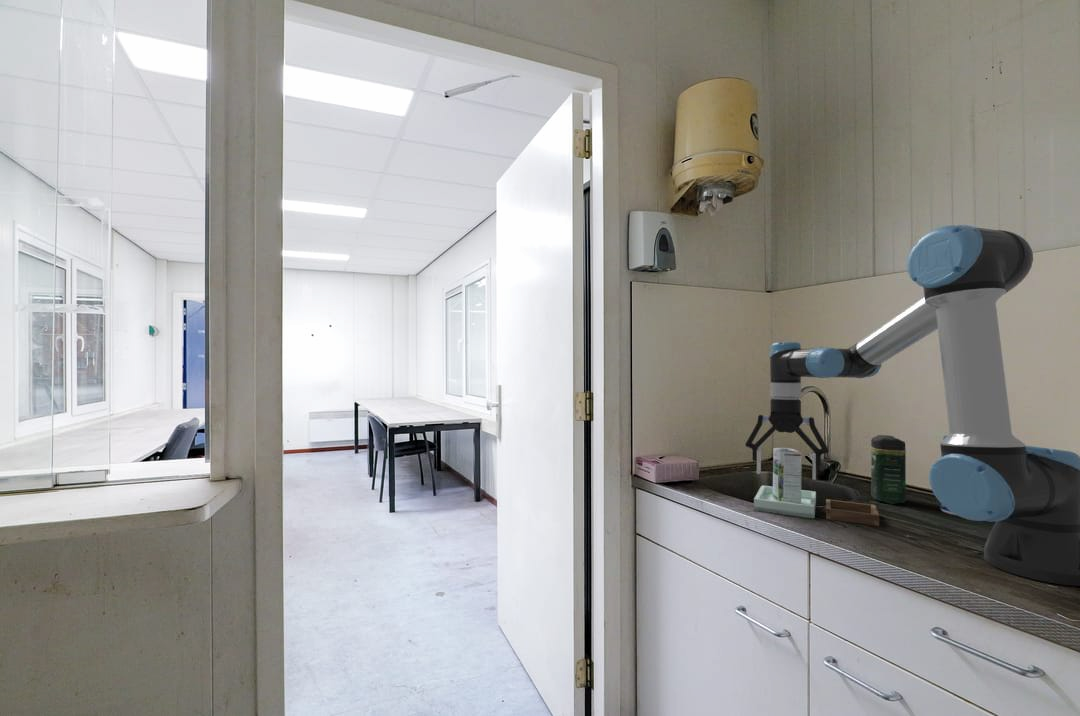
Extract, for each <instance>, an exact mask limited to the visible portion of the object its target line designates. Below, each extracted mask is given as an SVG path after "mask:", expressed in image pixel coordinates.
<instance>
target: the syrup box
mask: <svg viewBox="0 0 1080 716" xmlns="http://www.w3.org/2000/svg"><path fill="white" fill-rule="evenodd" d="M772 455H773V456H772V457H773V459H772V461H773V463H772V464H773V465H772V468H773V470H772V487H773V500H775V501H781V502H789V503H797V504H801V490H802V466H803V465H802V459H803V458H802V455H803V454H802V451H799V450H796V449H794V448H788V447H774V448H773V454H772Z"/></svg>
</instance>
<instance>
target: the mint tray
mask: <svg viewBox="0 0 1080 716" xmlns="http://www.w3.org/2000/svg"><path fill="white" fill-rule="evenodd" d="M816 504H817V492H816V491H813V490H806V489H805V490H804V489H801V504H797V503H789V502H781V501H775V500H773V486H771V485H770V486H769V485H764V484H763V485H761V486H760V488H759V489H758V491H757V493H756V495H755V496H754V498H753V511H757V512H763V513H770V512H772V514H777V513H778V515H785V516H791V517H792V516H793V517H798V518H799V517H801V518H807V519H813V520H815V517H816V516H815V515H816V506H817V505H816Z"/></svg>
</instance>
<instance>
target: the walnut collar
mask: <svg viewBox="0 0 1080 716" xmlns="http://www.w3.org/2000/svg"><path fill="white" fill-rule="evenodd" d="M825 519H826V520H833V521H839V522H847V523H855V524H862V525H868V526H876V527H880V515H879V511H878V509H877V506H876V504H871V503H862V502H861V503H860V502H854V501H844V500H838V499H829V498H828V499H827V498H826V499H825Z"/></svg>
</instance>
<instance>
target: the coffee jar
mask: <svg viewBox="0 0 1080 716" xmlns="http://www.w3.org/2000/svg"><path fill="white" fill-rule="evenodd" d="M870 443H871V444H870V445H871V446H870V452H871V453H870V454H871V457H870V458H871V461H870V462H871V465H870V466H871V468H870V469H871V471H870V472H871V473H870V474H871V475H870V476H871V478H870V479H871V482H870V483H871V484H870V488H871V489H870V490H871V491H870V493H871V497H872V498H873V499H874V500H876V501H880V502H885V503H887V504H904V503H906V501H907V500H906V499H907V498H906V497H907V494H906V493H907V492H906V491H907V490H906V489H907V486H906V485H907V483H906V477H907V475H906V473H907V471H906V468H907V467H906V465H907V464H906V463H907V462H906V461H907V460H906V453H907V451H906V442H905V441H903V440H902V439H899V438H896V437H895V436H893V435H887V434H884V435H883V434H878V435H876V436H874V437H872V438H871V440H870Z"/></svg>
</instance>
